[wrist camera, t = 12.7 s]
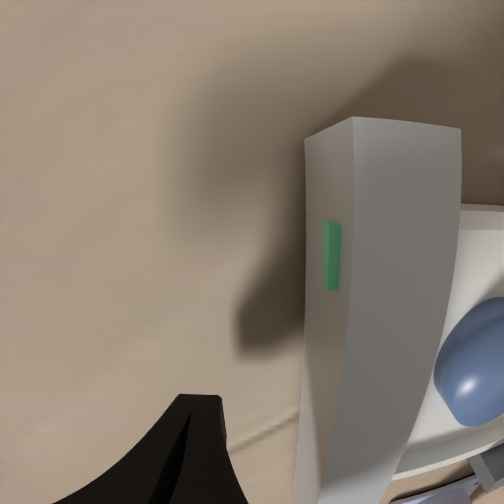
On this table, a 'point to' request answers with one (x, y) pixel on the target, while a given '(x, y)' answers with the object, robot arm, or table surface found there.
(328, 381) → the tray
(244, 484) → the table surface
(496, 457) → the grey storage bin
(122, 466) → the robot arm
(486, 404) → the disc
